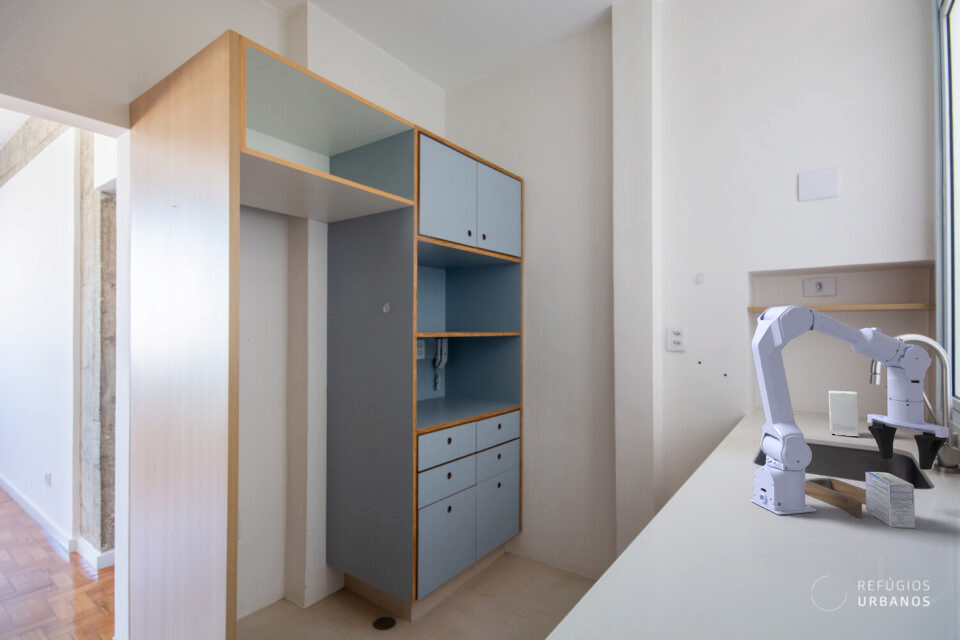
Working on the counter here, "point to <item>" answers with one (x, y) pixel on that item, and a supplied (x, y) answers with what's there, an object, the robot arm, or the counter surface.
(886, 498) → the medicine box
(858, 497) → the guide channel
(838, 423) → the skincare box
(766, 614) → the counter surface
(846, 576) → the counter surface
